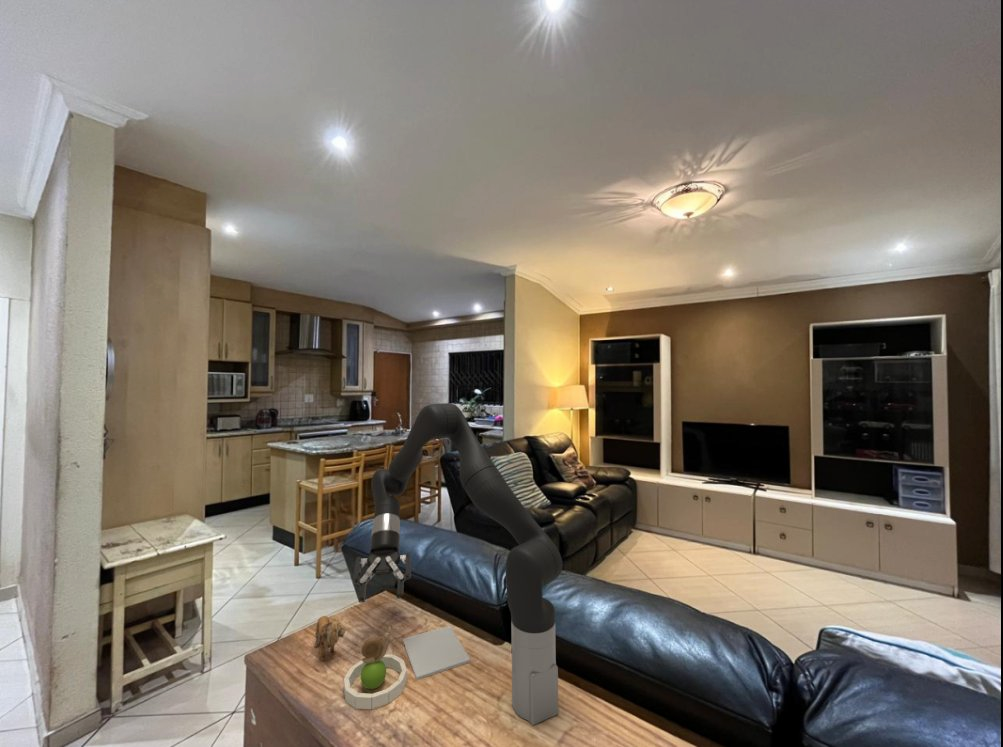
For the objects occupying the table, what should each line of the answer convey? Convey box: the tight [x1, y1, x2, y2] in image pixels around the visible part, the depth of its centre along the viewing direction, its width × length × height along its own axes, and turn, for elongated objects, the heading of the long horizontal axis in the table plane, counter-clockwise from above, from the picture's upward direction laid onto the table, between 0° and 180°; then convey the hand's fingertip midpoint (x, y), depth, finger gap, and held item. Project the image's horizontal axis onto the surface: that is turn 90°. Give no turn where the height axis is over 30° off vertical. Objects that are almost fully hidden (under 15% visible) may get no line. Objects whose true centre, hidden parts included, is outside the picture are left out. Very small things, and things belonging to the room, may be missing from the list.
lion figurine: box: [313, 615, 347, 662], centre depth 101 cm, size 15×5×9 cm, turn 44°
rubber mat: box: [402, 625, 471, 681], centre depth 99 cm, size 15×13×1 cm
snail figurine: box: [360, 626, 392, 690], centre depth 88 cm, size 5×6×12 cm
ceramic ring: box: [343, 653, 408, 710], centre depth 88 cm, size 13×13×2 cm
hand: (380, 599), depth 98 cm, fingers open, 8 cm apart
